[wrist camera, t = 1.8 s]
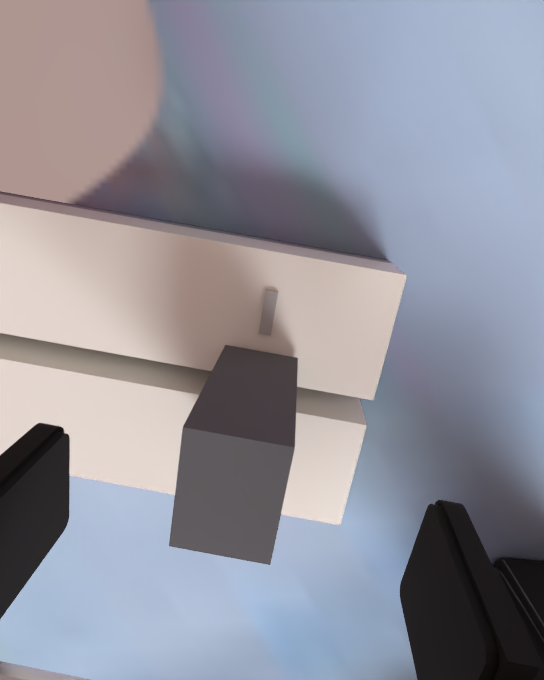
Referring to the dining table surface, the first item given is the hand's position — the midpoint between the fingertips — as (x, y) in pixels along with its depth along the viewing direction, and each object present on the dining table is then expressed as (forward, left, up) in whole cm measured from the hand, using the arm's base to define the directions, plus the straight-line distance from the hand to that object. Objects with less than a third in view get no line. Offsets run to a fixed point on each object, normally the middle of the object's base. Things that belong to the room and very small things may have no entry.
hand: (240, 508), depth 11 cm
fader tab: (0, 0, -11) cm, 11 cm away
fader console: (0, +8, -12) cm, 15 cm away
